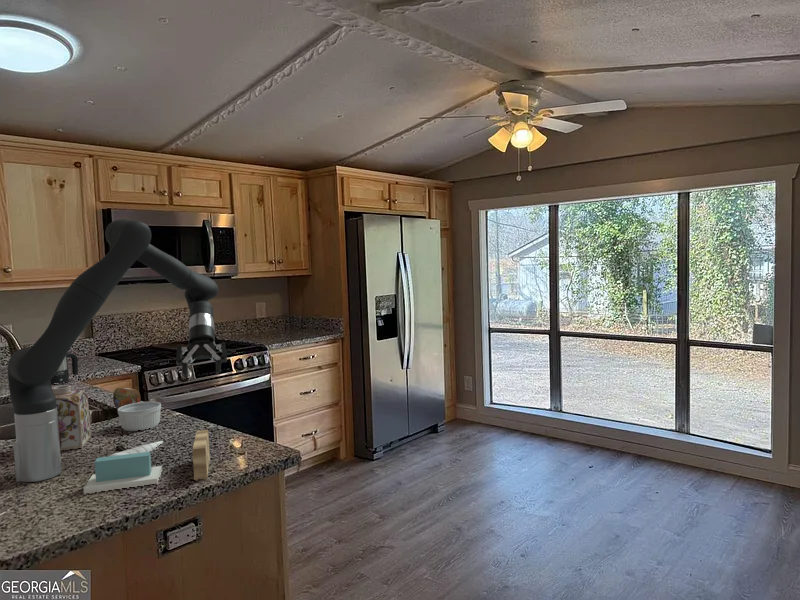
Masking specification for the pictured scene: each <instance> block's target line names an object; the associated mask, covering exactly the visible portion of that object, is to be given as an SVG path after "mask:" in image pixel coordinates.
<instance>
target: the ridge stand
mask: <svg viewBox="0 0 800 600" xmlns="http://www.w3.org/2000/svg"><path fill="white" fill-rule="evenodd" d="M151 457H152V455H151V452H143V453H134V454H126V455H117V456H110V455H109V456H101V457H97V458H96V459H95V461H94V471H95V474H92V475H91V477H90V478H89V480H87V482H86V484H85V485H84V487H83V494H84V495H87V494H86V493H89V494H95V492H97V493H102V492H101V491H105V492H109V491H108V490H112V491H115V490H114V489H120V490H123V489H122V488H127V489H130V488H129V487H135V488H138V487H137V486H143V487H145V486H144V485H149V484H155V483H158V484H159V482H158V480H159V481H160V479H159V477H160V478H161V476H160V475H162V473H163V466H162V465H159V466H152V459H151ZM161 472H162V473H161Z"/></svg>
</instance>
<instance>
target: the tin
mask: <svg viewBox="0 0 800 600" xmlns="http://www.w3.org/2000/svg"><path fill="white" fill-rule="evenodd" d="M141 398H142V397H141V394H140V392H139V390H137V389H135V388H132V387H131V388H129V387H124V386H123V387H116V388H115V389H114V392H113V397H112V399H113V401H112V402H113V404H114V407H115V408H116V409H117V410H118V408H120V407H122V406H125V405H128V404H133V403H139V402H142V401H141V400H142V399H141Z"/></svg>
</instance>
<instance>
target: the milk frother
mask: <svg viewBox="0 0 800 600" xmlns="http://www.w3.org/2000/svg"><path fill="white" fill-rule="evenodd" d="M68 358H70V359H71V372H72V375H73V376H76V375H78V374H79V371H78V370H79V361H78V360H79V359H78V356H77V354H74V353H72V352H68V353H67V355H66V356H65V358H64V360H63V362H62V364H61V365H60V367H59V369H58V371H57V372H56V374H55V375H54V376H53V378H51V379H50V381H51V384H54V383H63V382H67V383H69V382H70V380H69V377H70V376H69V365H68ZM68 381H69V382H68Z"/></svg>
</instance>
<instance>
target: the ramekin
mask: <svg viewBox="0 0 800 600" xmlns="http://www.w3.org/2000/svg"><path fill="white" fill-rule="evenodd" d="M161 409H162V404H161V402H158V401H141V402H139V403H133V404H128V405H125V406H122V407H120V408H118V409H117V414H118V418H119V422H120V427H121V429H123V430H124V431H125V430H126V431H127V432H139V431H138V430H141V431H145V429H146V430H149V428H150V429H153V428H156V427H157V426H158V425H159V424H160V421H161ZM126 431H125V432H126Z"/></svg>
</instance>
